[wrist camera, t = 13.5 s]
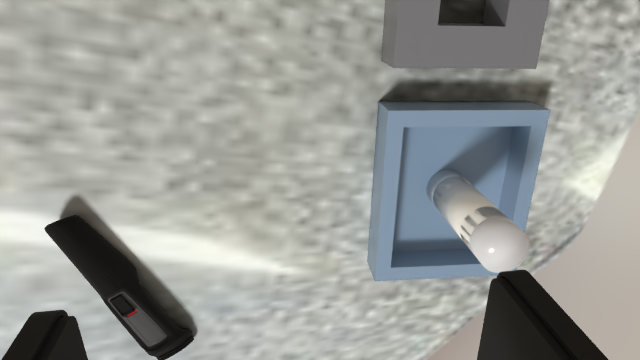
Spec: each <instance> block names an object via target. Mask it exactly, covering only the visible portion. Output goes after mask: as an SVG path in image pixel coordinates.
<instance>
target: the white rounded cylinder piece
mask: <svg viewBox="0 0 640 360" xmlns="http://www.w3.org/2000/svg"><path fill="white" fill-rule="evenodd" d="M426 191H427V196H428V198H429V199H430V201H431V202H432V203H433V204H434V206H435V207H436V208H437V209H438V210H439V212H440V213H441V214H442V215H443V217H444V218H445V219H446V220H447V222H448V223H449V224H450V225H451V227H452V228H453V229H454V230H455V232H456V233H457V234H458V235H459V237H460V238H461V239H462V240H463V242H464V243H465V244H466V245H467V247H468V248H469V249H470V250H471V252H472V253H473V254H474V255H475V257H476V258H477V259H478V260H479V262H480V263H481V264H482V265H483V266H484V268H486V269H487V270H489V271H491V272H494V273H500V272H503V271H511V270H513V269H515V268H516V267H518V266H519V265H520V264H521V263H522V262H523V261H524V260H525V258H526V257H527V255H528V252H529V248H530V243H529V239H528V237H527V235H526V234H525V233H524V232H523V231H522V230H521V229H520V228H519V227H518V226H516V225H515V224H514V223H513V222H512V221H511V220H510V219H509V218H508V217H507V216H506V215H505V214H503V213H502V212H501V211H500V210H499V209H498V208H497V207H496V206H495V205H494V204H493V203H491V202H490V201H489V200H488V199H487V198H486V197H485V196H484V195H483V194H482V193H481V192H480V191H478V190H477V189H476V188H475V187H474V186H473V185H472V184H471V183H470V182H469V181H468V180H467V179H465V178H464V177H463V176H462V175H461V174H460V173H459V172H457V171H455V170H452V169H445V170H441V171H439V172H437V173H436V174H434V175H433V176H432V177H431V179H430V180H429V182H428V184H427V190H426Z"/></svg>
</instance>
